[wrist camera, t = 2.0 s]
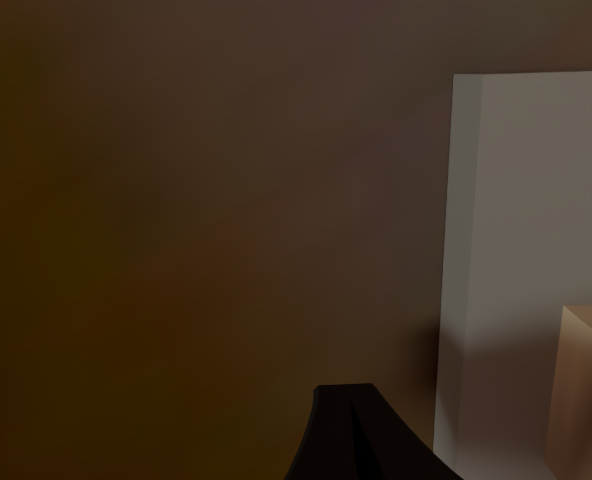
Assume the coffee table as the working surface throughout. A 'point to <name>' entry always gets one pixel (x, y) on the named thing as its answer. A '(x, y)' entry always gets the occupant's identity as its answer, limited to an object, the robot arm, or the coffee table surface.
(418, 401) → the coffee table surface
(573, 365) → the maple block
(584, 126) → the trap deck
